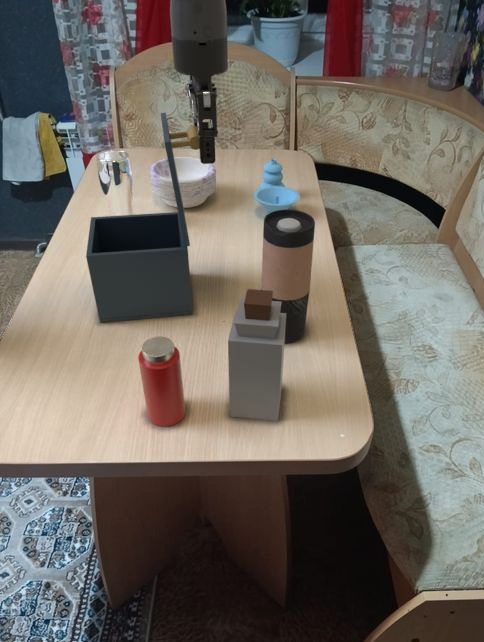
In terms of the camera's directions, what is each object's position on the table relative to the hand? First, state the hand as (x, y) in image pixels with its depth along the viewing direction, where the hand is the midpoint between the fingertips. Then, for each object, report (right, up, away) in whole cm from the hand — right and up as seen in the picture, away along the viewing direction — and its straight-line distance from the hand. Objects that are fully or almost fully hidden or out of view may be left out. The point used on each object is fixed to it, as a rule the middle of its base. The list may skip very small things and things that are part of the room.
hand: (204, 152), depth 84 cm
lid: (-5, -4, +2) cm, 7 cm away
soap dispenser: (+12, +3, +45) cm, 46 cm away
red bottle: (-5, -39, -8) cm, 40 cm away
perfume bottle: (+8, -38, -6) cm, 39 cm away
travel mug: (+12, -27, +8) cm, 31 cm away
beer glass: (-22, -3, +36) cm, 43 cm away
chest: (-12, -21, +14) cm, 28 cm away
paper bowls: (-10, +5, +47) cm, 48 cm away
